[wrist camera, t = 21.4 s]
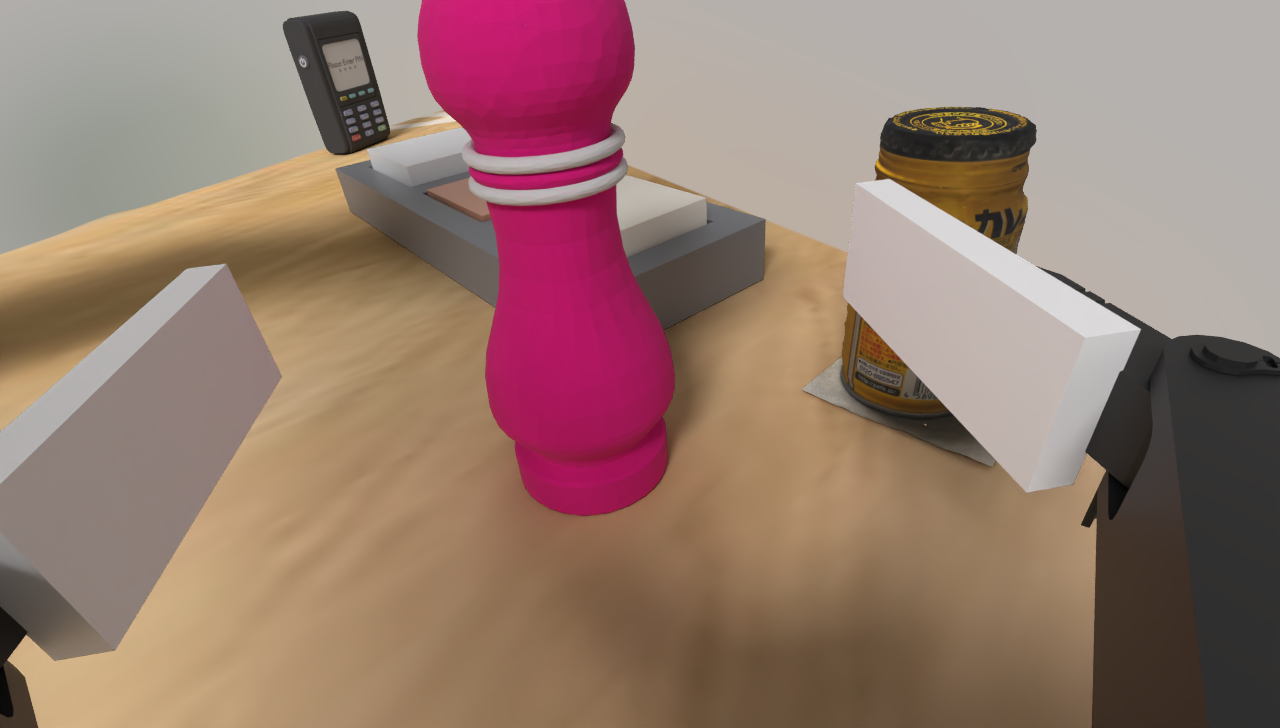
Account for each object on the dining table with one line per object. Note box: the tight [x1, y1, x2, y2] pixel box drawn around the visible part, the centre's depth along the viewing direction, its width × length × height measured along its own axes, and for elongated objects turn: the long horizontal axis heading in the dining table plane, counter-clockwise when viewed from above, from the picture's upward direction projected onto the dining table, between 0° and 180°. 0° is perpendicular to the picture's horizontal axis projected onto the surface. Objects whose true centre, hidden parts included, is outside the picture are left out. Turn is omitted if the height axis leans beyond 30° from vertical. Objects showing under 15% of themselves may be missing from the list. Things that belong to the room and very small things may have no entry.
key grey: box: [367, 128, 471, 187], centre depth 54 cm, size 9×9×3 cm
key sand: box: [616, 175, 707, 257], centre depth 38 cm, size 9×9×3 cm
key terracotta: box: [427, 178, 491, 222], centre depth 47 cm, size 9×9×3 cm
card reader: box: [283, 11, 390, 154], centre depth 76 cm, size 9×4×15 cm, turn 160°
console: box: [336, 160, 766, 330], centre depth 47 cm, size 14×38×4 cm, turn 40°
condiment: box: [802, 107, 1037, 467], centre depth 25 cm, size 7×8×12 cm
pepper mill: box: [418, 0, 675, 516], centre depth 21 cm, size 7×7×20 cm
